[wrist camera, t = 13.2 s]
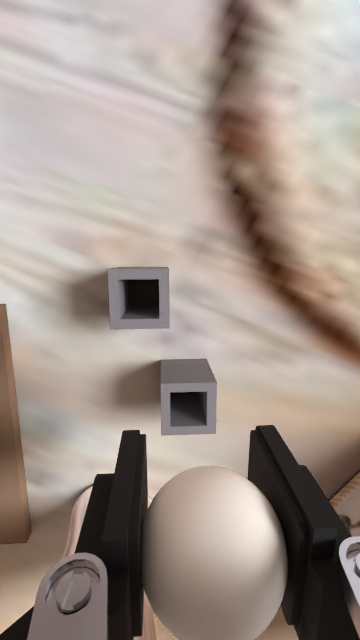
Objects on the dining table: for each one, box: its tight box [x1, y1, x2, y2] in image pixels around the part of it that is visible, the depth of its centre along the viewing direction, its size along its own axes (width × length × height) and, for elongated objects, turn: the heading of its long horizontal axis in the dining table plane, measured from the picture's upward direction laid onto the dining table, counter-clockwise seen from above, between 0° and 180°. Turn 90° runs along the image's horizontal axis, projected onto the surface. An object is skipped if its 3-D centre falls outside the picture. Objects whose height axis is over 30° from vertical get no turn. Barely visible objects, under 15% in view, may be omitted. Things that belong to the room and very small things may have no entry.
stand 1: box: [107, 267, 169, 329], centre depth 18 cm, size 3×3×4 cm
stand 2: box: [161, 359, 217, 435], centre depth 19 cm, size 3×3×4 cm
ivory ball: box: [141, 466, 288, 640], centre depth 8 cm, size 4×4×4 cm
